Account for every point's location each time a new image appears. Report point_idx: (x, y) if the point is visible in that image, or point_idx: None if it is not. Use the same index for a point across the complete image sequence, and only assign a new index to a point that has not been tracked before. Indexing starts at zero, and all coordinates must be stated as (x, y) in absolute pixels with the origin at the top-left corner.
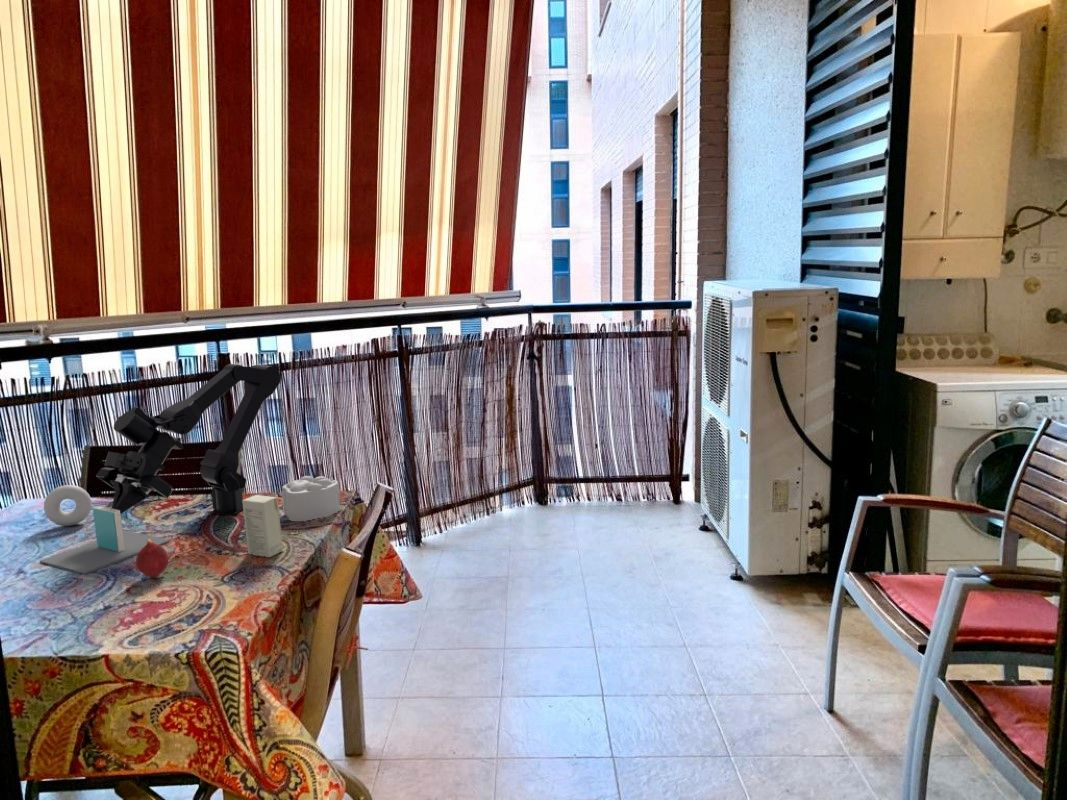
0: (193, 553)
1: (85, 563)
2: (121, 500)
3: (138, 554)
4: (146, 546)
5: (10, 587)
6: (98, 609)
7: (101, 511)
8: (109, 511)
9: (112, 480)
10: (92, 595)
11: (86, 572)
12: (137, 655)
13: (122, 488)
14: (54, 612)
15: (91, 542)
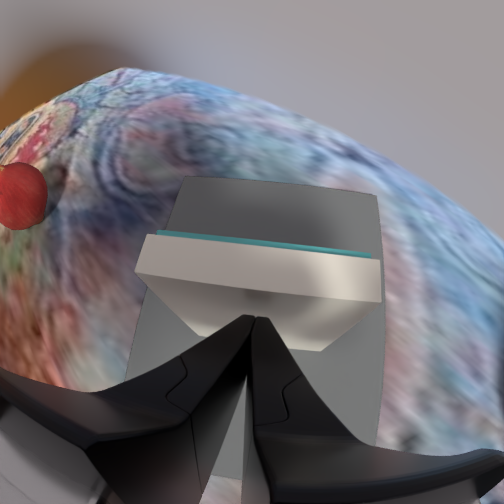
0: (17, 357)
1: (234, 213)
2: (178, 358)
3: (26, 164)
4: (5, 165)
5: (290, 113)
6: (82, 125)
7: (275, 244)
8: (197, 241)
9: (492, 468)
10: (111, 139)
11: (184, 180)
12: (27, 113)
13: (252, 492)
14: (136, 100)
15: (384, 351)
